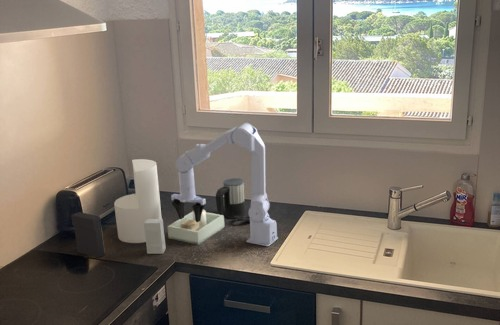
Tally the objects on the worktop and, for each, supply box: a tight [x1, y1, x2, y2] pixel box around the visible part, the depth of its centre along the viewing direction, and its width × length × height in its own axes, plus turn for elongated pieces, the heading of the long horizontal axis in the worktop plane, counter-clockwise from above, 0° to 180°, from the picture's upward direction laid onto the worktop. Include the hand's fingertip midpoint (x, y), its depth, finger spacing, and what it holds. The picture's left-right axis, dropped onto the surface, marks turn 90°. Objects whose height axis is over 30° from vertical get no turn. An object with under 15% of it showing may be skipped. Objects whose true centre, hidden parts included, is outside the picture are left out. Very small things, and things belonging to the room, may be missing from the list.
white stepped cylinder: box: [113, 158, 163, 244], centre depth 208 cm, size 17×17×28 cm
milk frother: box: [215, 177, 250, 223], centre depth 221 cm, size 14×16×15 cm
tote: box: [167, 211, 225, 246], centre depth 210 cm, size 14×18×5 cm
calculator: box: [70, 211, 106, 259], centre depth 194 cm, size 11×4×15 cm, turn 59°
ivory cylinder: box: [192, 209, 207, 229], centre depth 211 cm, size 5×5×7 cm
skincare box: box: [144, 218, 167, 255], centre depth 194 cm, size 6×4×12 cm
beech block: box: [181, 219, 200, 231], centre depth 206 cm, size 5×5×5 cm
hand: (190, 219), depth 205 cm, fingers open, 7 cm apart
